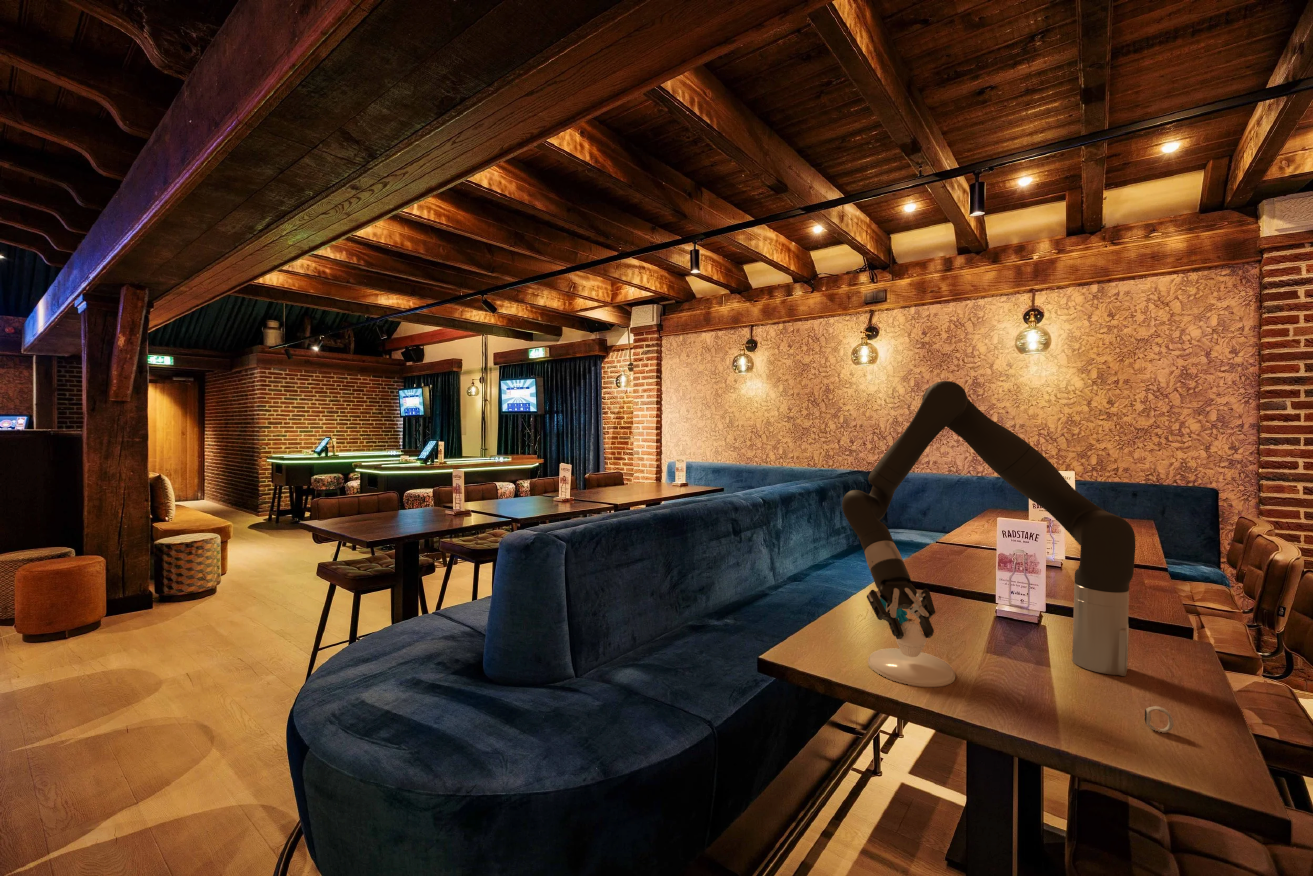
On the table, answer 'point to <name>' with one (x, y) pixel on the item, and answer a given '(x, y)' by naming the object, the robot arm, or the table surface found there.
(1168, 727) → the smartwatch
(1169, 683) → the table surface
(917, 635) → the muffin
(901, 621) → the teal knobbly lump
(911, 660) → the plate
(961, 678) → the table surface
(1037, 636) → the table surface
